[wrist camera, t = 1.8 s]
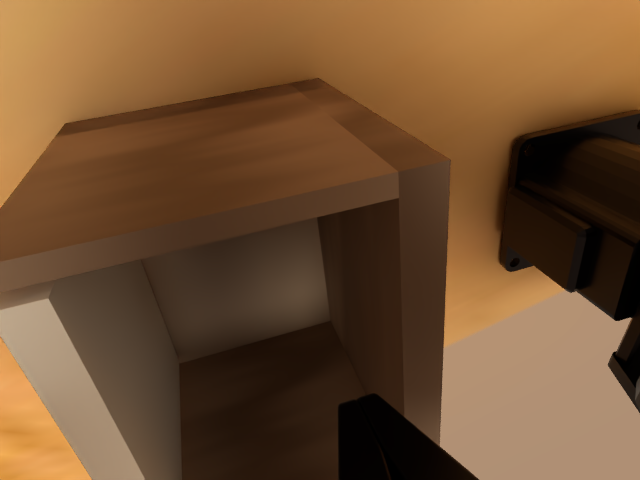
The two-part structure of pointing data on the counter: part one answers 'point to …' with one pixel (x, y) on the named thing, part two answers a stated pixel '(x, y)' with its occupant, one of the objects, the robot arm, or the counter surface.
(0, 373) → the counter surface
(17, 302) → the cabinet door
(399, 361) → the open wooden box
